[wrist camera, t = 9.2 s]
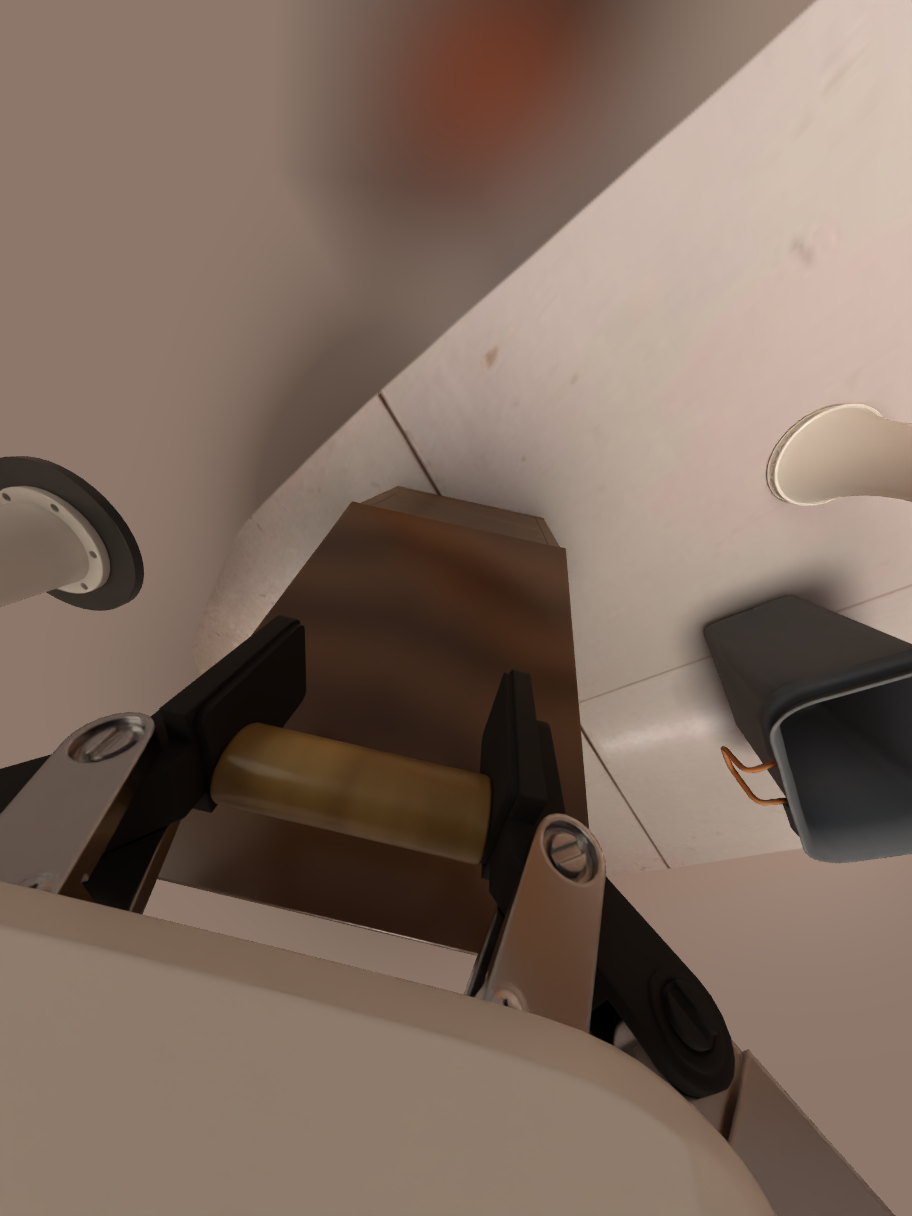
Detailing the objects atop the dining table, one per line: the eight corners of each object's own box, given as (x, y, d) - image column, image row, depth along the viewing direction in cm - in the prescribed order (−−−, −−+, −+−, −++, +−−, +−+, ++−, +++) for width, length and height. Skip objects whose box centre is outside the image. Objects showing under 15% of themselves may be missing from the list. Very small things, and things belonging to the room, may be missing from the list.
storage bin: (846, 711, 38) (1019, 844, 26) (702, 749, 43) (786, 877, 31) (816, 559, 31) (1034, 639, 19) (648, 626, 36) (729, 725, 24)
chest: (496, 667, 41) (496, 736, 31) (381, 641, 41) (346, 701, 32) (543, 518, 32) (562, 550, 23) (397, 486, 33) (355, 504, 23)
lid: (590, 980, 10) (741, 1047, 5) (100, 862, 10) (-124, 838, 6) (561, 557, 23) (599, 480, 18) (353, 511, 23) (343, 425, 19)
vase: (764, 515, 30) (876, 546, 21) (767, 427, 27) (898, 420, 18) (867, 486, 28) (1037, 507, 19) (882, 388, 25) (1091, 360, 16)
